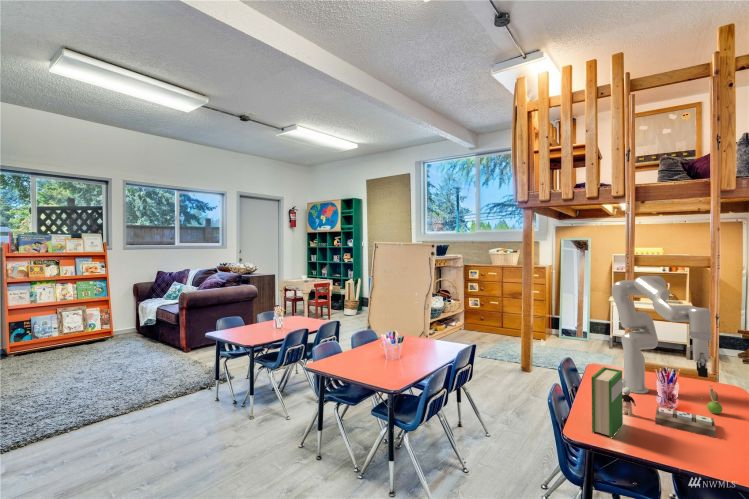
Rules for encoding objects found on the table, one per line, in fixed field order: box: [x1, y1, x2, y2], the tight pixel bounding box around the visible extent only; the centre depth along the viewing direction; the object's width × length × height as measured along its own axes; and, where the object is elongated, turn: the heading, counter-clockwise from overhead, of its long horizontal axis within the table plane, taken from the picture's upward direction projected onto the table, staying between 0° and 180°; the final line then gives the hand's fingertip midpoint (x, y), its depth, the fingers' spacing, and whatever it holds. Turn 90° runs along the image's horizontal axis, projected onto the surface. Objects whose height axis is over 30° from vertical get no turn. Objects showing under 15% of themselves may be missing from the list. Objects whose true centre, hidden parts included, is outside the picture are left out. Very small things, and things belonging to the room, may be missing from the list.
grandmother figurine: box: [622, 387, 637, 417], centre depth 178 cm, size 8×4×13 cm, turn 47°
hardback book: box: [591, 366, 624, 438], centre depth 164 cm, size 18×7×24 cm, turn 135°
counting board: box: [654, 406, 717, 438], centre depth 167 cm, size 20×14×3 cm
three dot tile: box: [676, 410, 693, 422], centre depth 167 cm, size 5×5×3 cm
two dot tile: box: [658, 406, 674, 418], centre depth 171 cm, size 5×5×3 cm
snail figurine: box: [706, 385, 723, 415], centre depth 178 cm, size 5×6×12 cm
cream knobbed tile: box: [695, 414, 712, 426], centre depth 163 cm, size 5×5×3 cm
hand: (702, 374), depth 168 cm, fingers open, 9 cm apart
